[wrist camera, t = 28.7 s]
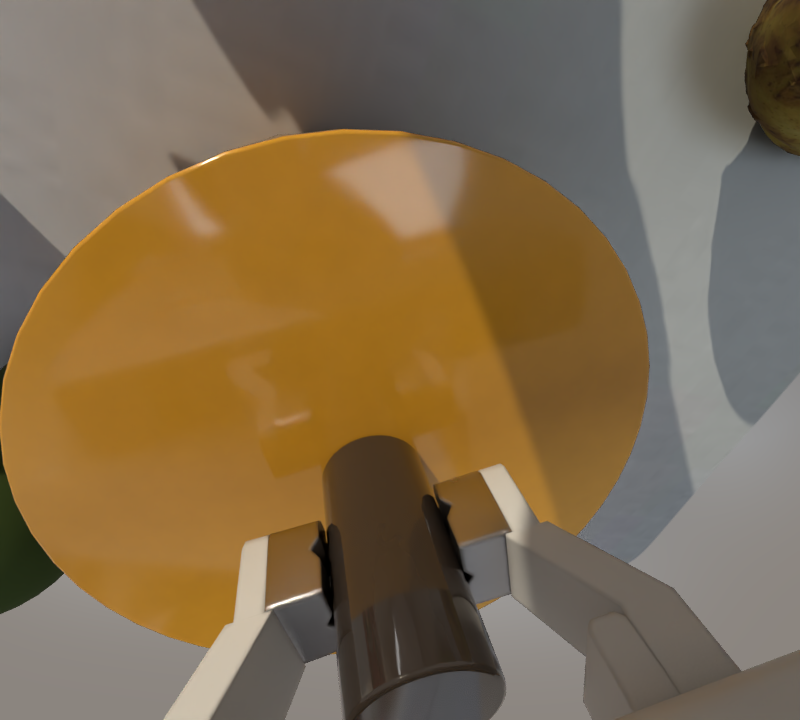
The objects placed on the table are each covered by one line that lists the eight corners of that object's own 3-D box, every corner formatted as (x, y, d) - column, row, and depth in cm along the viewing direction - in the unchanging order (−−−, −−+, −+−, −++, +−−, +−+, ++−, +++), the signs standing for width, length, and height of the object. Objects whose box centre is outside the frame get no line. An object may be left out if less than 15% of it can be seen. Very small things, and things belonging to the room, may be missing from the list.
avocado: (-32, 420, 20) (-288, 659, 11) (33, 322, 19) (-199, 506, 10) (105, 473, 23) (-11, 699, 14) (170, 392, 22) (87, 584, 13)
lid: (-95, 518, 10) (-560, 996, 4) (315, -102, 7) (425, -1063, 1) (384, 658, 17) (429, 914, 11) (702, 387, 13) (977, 563, 8)
